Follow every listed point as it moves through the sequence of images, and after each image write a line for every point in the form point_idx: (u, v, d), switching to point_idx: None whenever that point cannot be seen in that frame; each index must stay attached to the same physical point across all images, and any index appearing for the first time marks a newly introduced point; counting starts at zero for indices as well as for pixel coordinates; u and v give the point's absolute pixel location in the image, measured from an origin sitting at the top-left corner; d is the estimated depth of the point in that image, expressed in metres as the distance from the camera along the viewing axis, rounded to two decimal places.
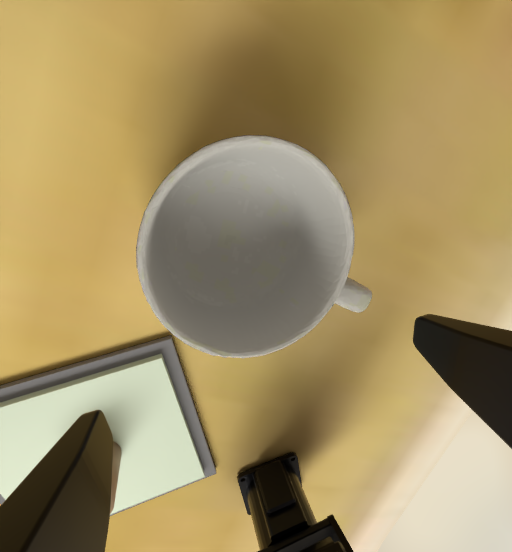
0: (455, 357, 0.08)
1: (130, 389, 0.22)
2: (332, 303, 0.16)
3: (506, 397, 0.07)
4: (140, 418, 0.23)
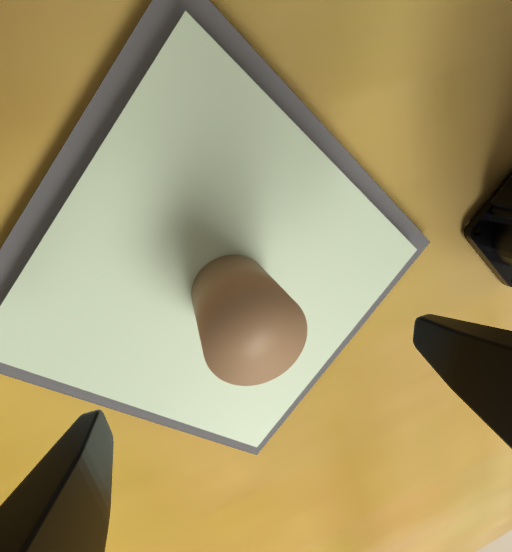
0: (455, 357, 0.08)
1: (185, 129, 0.10)
2: None
3: (506, 397, 0.07)
4: (246, 186, 0.12)
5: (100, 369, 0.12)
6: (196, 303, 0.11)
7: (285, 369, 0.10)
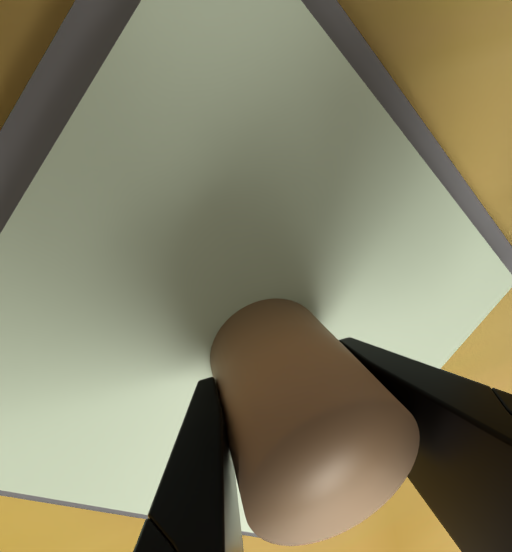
0: None
1: (206, 105, 0.06)
2: None
3: None
4: (297, 197, 0.07)
5: (74, 469, 0.08)
6: (222, 387, 0.07)
7: (375, 509, 0.06)
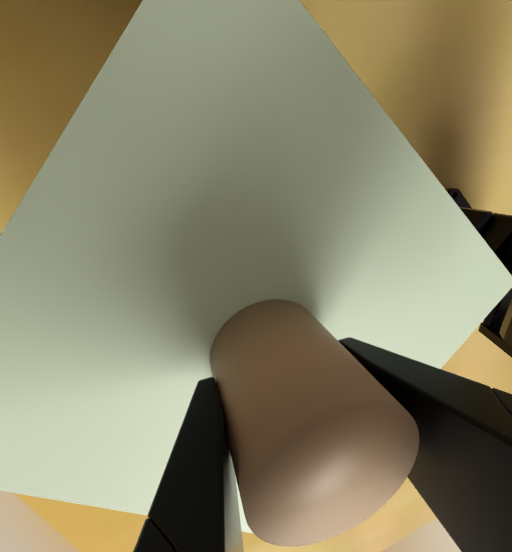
0: None
1: (206, 106, 0.06)
2: None
3: None
4: (297, 199, 0.07)
5: (74, 470, 0.08)
6: (222, 388, 0.07)
7: (374, 510, 0.06)
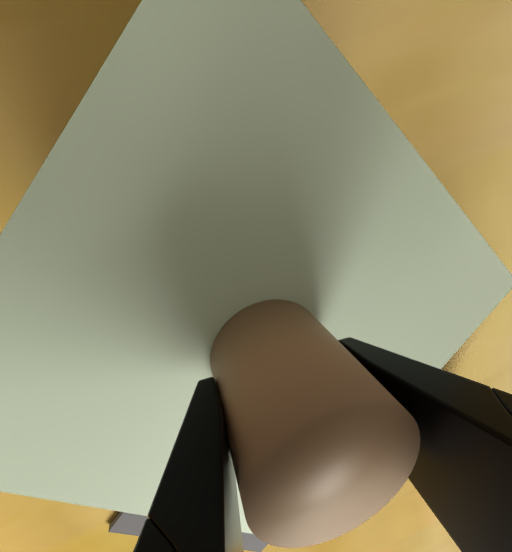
0: None
1: (206, 106, 0.06)
2: None
3: None
4: (297, 198, 0.07)
5: (74, 470, 0.08)
6: (222, 389, 0.07)
7: (375, 511, 0.06)
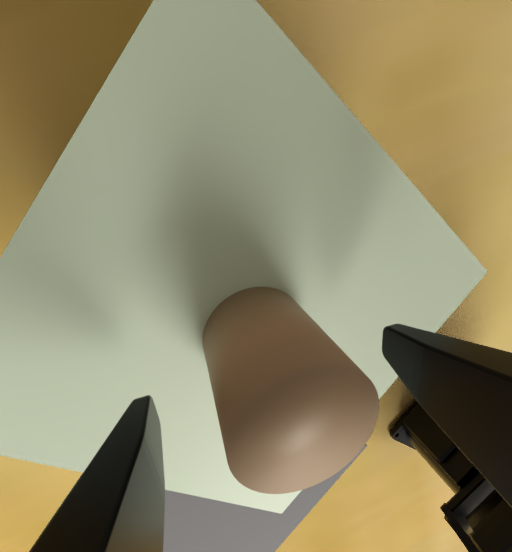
0: (419, 369, 0.07)
1: (194, 115, 0.07)
2: None
3: (467, 412, 0.07)
4: (278, 195, 0.08)
5: (81, 441, 0.09)
6: (211, 363, 0.08)
7: (343, 465, 0.07)
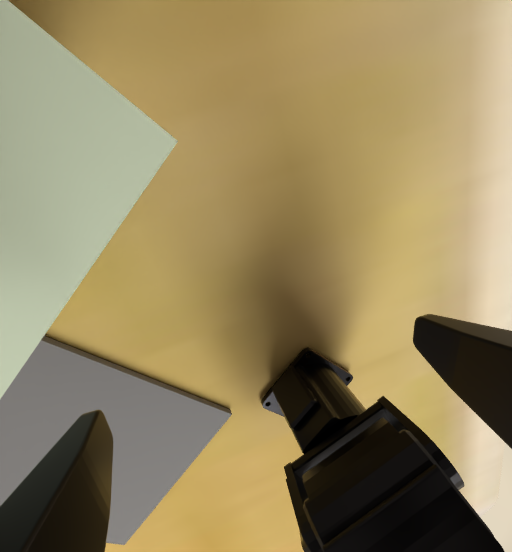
0: (455, 357, 0.08)
1: None
2: None
3: (505, 397, 0.07)
4: None
5: None
6: None
7: None
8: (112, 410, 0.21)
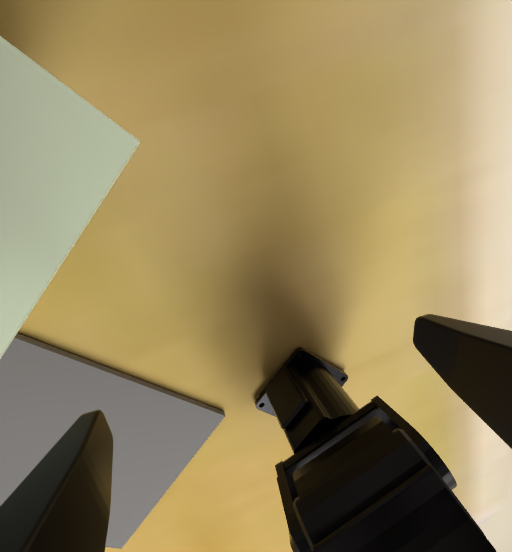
0: (455, 357, 0.08)
1: None
2: None
3: (505, 397, 0.07)
4: None
5: None
6: None
7: None
8: (103, 412, 0.21)
